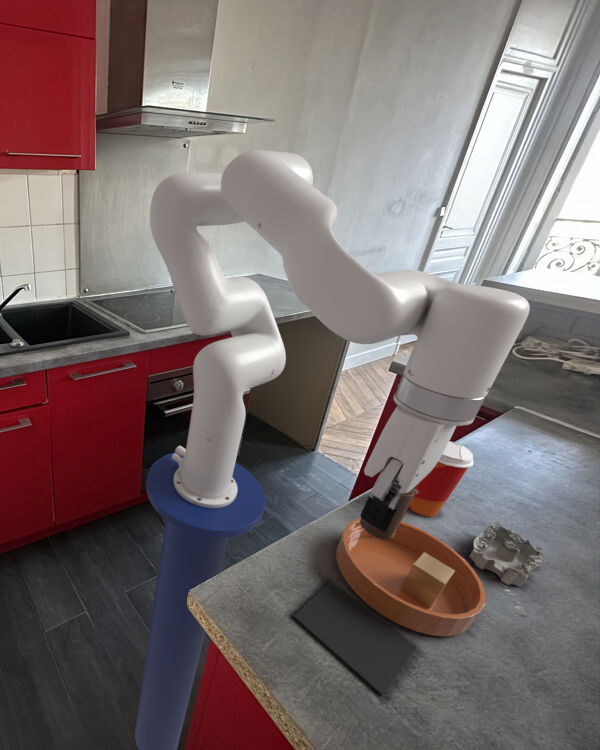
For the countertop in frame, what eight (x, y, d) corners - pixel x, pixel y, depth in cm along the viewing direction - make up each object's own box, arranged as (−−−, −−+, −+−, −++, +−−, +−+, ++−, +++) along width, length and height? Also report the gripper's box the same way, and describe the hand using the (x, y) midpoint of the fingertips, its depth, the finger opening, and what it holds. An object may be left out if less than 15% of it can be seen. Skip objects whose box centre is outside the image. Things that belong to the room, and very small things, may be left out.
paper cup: (405, 487, 85) (432, 431, 79) (450, 509, 80) (482, 451, 74) (390, 502, 81) (416, 444, 75) (435, 527, 76) (468, 467, 70)
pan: (313, 566, 67) (321, 546, 65) (366, 520, 77) (374, 502, 75) (444, 665, 54) (459, 645, 52) (489, 595, 64) (502, 575, 62)
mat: (292, 617, 59) (293, 615, 59) (329, 583, 65) (329, 581, 64) (381, 696, 51) (382, 694, 50) (415, 649, 56) (416, 647, 56)
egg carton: (517, 593, 64) (530, 575, 62) (460, 557, 70) (470, 540, 68) (541, 564, 69) (553, 547, 67) (486, 533, 75) (496, 516, 73)
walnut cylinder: (354, 524, 56) (372, 481, 53) (368, 512, 58) (386, 470, 55) (386, 544, 53) (407, 500, 50) (399, 530, 55) (420, 488, 52)
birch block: (400, 588, 64) (413, 563, 61) (410, 575, 66) (424, 551, 63) (429, 608, 61) (445, 584, 58) (440, 595, 63) (455, 570, 60)
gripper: (427, 368, 54) (379, 477, 62) (367, 402, 45) (321, 525, 53) (500, 391, 48) (438, 508, 56) (449, 436, 39) (383, 567, 48)
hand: (382, 515), depth 55 cm, fingers closed on walnut cylinder, 4 cm apart
